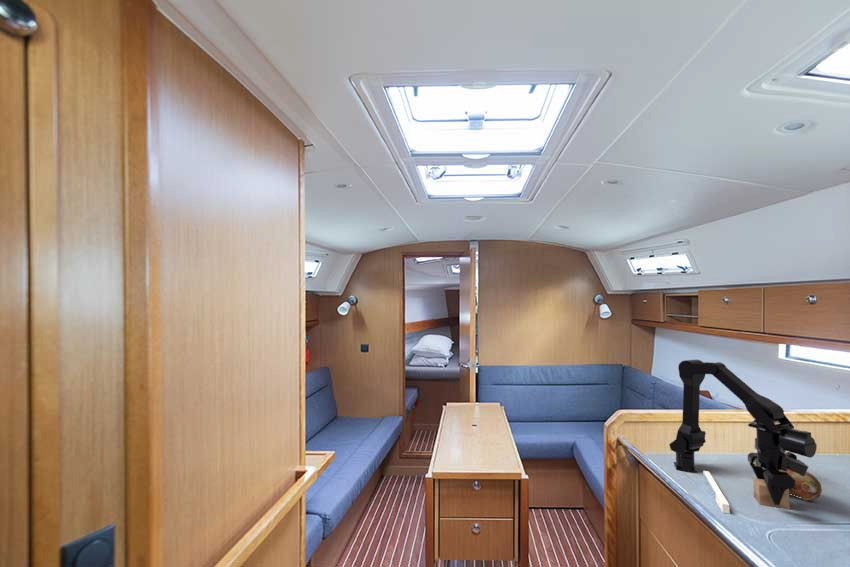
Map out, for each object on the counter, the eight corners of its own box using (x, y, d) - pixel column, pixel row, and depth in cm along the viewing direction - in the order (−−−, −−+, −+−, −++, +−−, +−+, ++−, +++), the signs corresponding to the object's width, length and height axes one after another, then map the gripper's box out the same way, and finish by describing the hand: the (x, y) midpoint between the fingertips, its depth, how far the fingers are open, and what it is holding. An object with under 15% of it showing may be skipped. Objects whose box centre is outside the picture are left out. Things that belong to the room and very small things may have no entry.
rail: (702, 477, 138) (702, 470, 138) (709, 478, 137) (708, 471, 138) (721, 512, 116) (721, 503, 116) (729, 513, 115) (729, 504, 116)
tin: (760, 484, 134) (759, 458, 134) (766, 482, 135) (765, 457, 135) (818, 506, 119) (817, 477, 120) (824, 504, 121) (823, 475, 121)
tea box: (759, 505, 120) (759, 484, 120) (753, 497, 125) (753, 477, 125) (789, 510, 117) (788, 489, 118) (782, 501, 122) (781, 481, 122)
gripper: (819, 461, 110) (821, 519, 109) (789, 439, 127) (791, 489, 126) (767, 454, 114) (769, 510, 114) (746, 434, 132) (748, 482, 131)
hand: (770, 497), depth 121 cm, fingers open, 9 cm apart
